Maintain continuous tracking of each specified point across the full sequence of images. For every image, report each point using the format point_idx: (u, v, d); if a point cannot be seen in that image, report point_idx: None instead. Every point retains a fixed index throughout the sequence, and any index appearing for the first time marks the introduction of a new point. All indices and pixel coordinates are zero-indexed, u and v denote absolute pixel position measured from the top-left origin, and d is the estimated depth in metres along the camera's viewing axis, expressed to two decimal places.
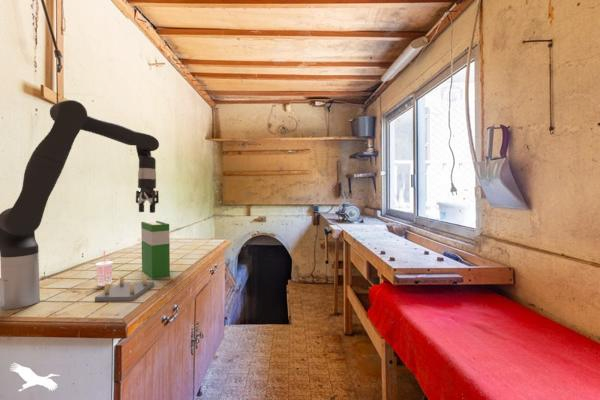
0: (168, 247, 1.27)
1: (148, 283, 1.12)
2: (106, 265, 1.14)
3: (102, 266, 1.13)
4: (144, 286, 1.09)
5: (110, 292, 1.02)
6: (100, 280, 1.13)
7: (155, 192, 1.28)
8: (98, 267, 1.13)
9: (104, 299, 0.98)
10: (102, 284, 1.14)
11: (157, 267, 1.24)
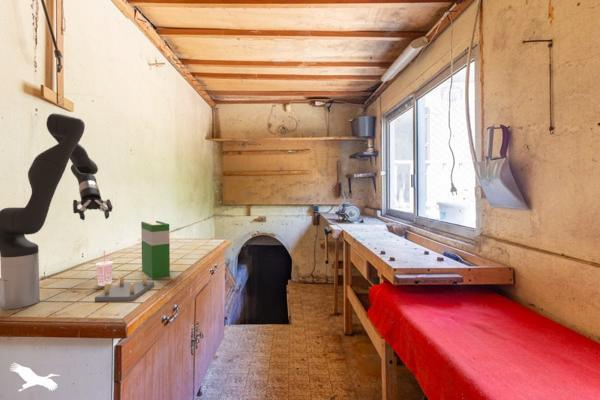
0: (168, 247, 1.27)
1: (148, 283, 1.12)
2: (106, 265, 1.14)
3: (102, 266, 1.13)
4: (144, 286, 1.09)
5: (110, 292, 1.02)
6: (100, 280, 1.13)
7: None
8: (98, 267, 1.13)
9: (104, 299, 0.98)
10: (102, 284, 1.14)
11: (157, 267, 1.24)
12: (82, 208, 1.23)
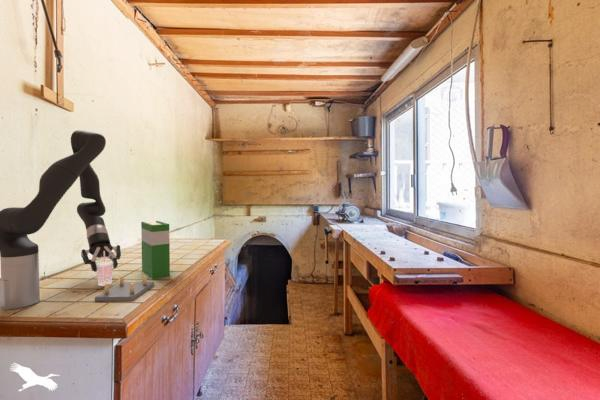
0: (168, 247, 1.27)
1: (148, 283, 1.12)
2: (106, 265, 1.14)
3: (102, 266, 1.13)
4: (144, 286, 1.09)
5: (110, 292, 1.02)
6: (100, 280, 1.13)
7: None
8: (98, 267, 1.13)
9: (104, 299, 0.98)
10: (102, 284, 1.14)
11: (157, 267, 1.24)
12: (93, 258, 1.14)
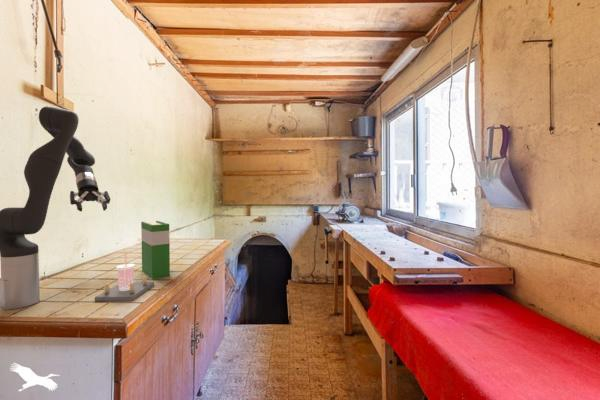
0: (168, 247, 1.27)
1: (148, 283, 1.12)
2: (128, 268, 1.04)
3: (124, 269, 1.03)
4: (144, 286, 1.09)
5: (110, 292, 1.02)
6: (121, 285, 1.04)
7: None
8: (119, 270, 1.03)
9: (104, 299, 0.98)
10: (124, 289, 1.04)
11: (157, 267, 1.24)
12: (79, 199, 1.20)
